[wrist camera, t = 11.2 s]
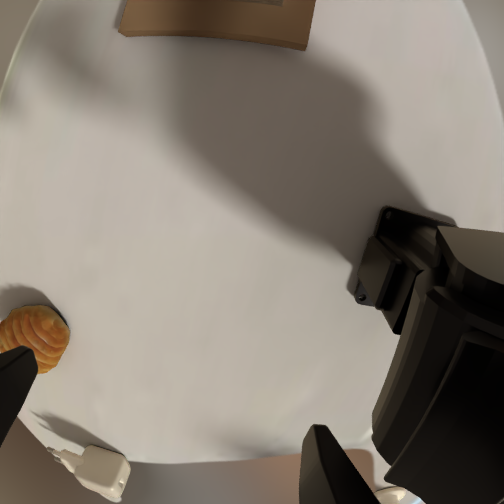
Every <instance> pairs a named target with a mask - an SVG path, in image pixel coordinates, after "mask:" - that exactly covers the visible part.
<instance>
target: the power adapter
mask: <svg viewBox="0 0 504 504" xmlns="http://www.w3.org/2000/svg"><path fill="white" fill-rule="evenodd" d="M47 451H49V452H51V453H53V454H56V455H58V456H60V458H58V457H54V460H55V461H57V462H59V463H62V464H64V465H65V466H66V467H67V469H68V470H69V471H70V472H72V473H74V476H75V477H76V478H77V480H78V481H79V482H80V483H81V484H82V485H83V486H84V487H86V488H88V489H91V490H93V491H96V492H98V493H101V494H104V495H106V496H109V497H113V498H119V497H120V496H121V494H122V492H123V490H124V487H125V485H126V482H127V479H128V476H129V474H130V465H129V463H128V461H127V459H126V458H125V457H124V456H123V455H121V454H118V453H115V452H112V451H109V450H106V449H103V448H100V447H97V446H93V445H89V446H87V447H86V449H85V450H84V452H83V454H82V456H80V455H78V454H75V453H73V452H70V451H68V450H66V449H64V450H62V451H61V452H59V451H57V450H55V449H53V448H51V447H47Z"/></svg>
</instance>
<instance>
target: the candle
mask: <svg viewBox="0 0 504 504" xmlns="http://www.w3.org/2000/svg"><path fill="white" fill-rule="evenodd" d="M405 494H406V491H405V489H404V488H402V487H392V488H387V489H383V490H380V491H377V492H374V495H375V496H376V498H377V499H378V500H379V502H380V503H381V504H399V500H400V499H402V498H403V497H404V496H405Z"/></svg>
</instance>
